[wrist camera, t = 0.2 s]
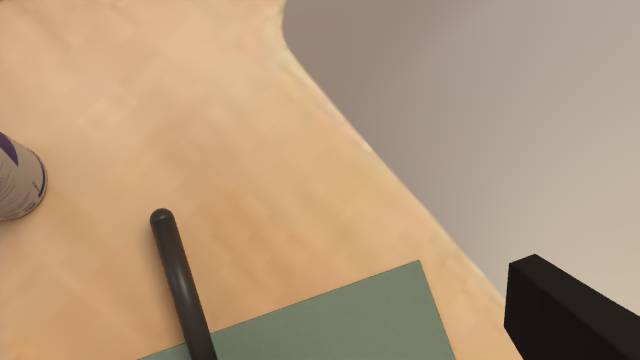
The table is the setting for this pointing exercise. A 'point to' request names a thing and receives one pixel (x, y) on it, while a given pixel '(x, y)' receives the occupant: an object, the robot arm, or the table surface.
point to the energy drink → (19, 179)
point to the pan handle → (182, 286)
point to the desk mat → (342, 325)
